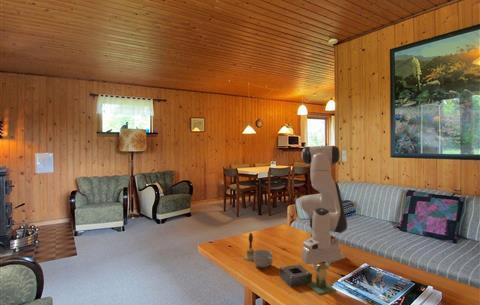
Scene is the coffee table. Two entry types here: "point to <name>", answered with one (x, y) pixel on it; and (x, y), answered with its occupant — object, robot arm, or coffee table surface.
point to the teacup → (263, 258)
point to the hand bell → (250, 250)
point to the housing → (295, 275)
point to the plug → (321, 275)
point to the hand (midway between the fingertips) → (321, 269)
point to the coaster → (321, 288)
